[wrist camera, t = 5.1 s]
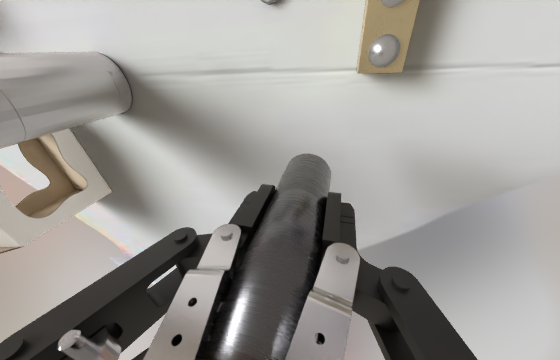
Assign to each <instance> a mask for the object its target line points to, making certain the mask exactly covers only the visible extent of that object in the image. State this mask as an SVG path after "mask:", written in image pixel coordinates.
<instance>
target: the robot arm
mask: <svg viewBox="0 0 560 360" xmlns="http://www.w3.org/2000/svg"><path fill="white" fill-rule="evenodd" d="M131 102H132V96H131V90H130V87H129V84H128V82H127V80H126V78H125V76H124V75H123V73H122V72H121V70H120V69H119V68H118V67H117V65H116V64H115V63H114V62H112V61H111V60H110V59H109V58H107V57H106V56H104V55H102V54H100V53H97V52H53V53H0V149H1V148H4V147H8V146H11V145H15V144H18V143H21V142H24V141H28V140H31V139H35V138H38V137H41V136H45V135H48V134H52V133H55V132H58V131H62V130H65V129H69V128H72V127H76V126H79V125H82V124H86V123H89V122H93V121H96V120H99V119H103V118H107V117H110V116H113V115H117V114H120V113H123V112H126V111H127V110H128V109H129V108H130V106H131ZM274 193H275V186H274V185H265V184H262V185H261V187H260V188H259V190H258V192H256V191H253V192H251V193H250V194H249V195H247V196H246V198H245V199H244V201H243V203H242V204H241V205H240V207H239V208H238V210H237V211H236V213H235V214H234V216H233V217H232V219H231V220H230V222H229V223H228V224H225V225H222V226H220V227H218V228H217V229H216V230H215V231H214V232H213V234H205V235H197V234H196V231H195V230H194V229H192V228H188V227H186V228H181V229H178V230H176V231H174V232H172V233H171V234H169V235H168V236H166V237H165V238H163V239H162V240H160V241H158V242H157V243H155V244H154V245H152V246H151V247H149V248H147V249H146V250H144V251H143V252H141V253H140V254H138V255H136V256H135V257H133V258H132V259H130V260H129V261H127V262H125V263H124V264H122V265H121V266H119V267H118V268H116V269H115V270H113V271H112V272H110V273H108V274H107V275H105V276H104V277H102V278H101V279H99V280H97V281H96V282H94V283H93V284H91V285H90V286H88V287H87V288H85V289H83V290H82V291H80V292H78V293H77V294H75V295H74V296H72V297H71V298H69V299H68V300H66V301H64V302H63V303H61V304H60V305H58V306H57V307H55V308H54V309H52V310H50V311H49V312H47V313H46V314H44V315H42V316H41V317H39V318H38V319H36V320H35V321H33V322H32V323H30V324H28V325H27V326H25V327H24V328H22V329H21V330H19V331H17V332H16V333H14V334H13V335H11V336H10V337H8V338H7V339H5V340H4V341H3V342H2V343H0V360H118V358H119V356H120V353H121V352H123V351H124V350H125V349H126V348H127V347H128V346H129V345H131V344H132V343H133V342H134V341H135V340H136V339H137V338H138V337H140V336H141V335H142V334H143V333H144V332H145V331H146V330H147V329H149V328H150V327H151V326H152V325H153V324H154V323H155V322H156V321H158V320H159V319H160V318H161V317H162V316H163V315H164V314H165V313H166V315H165V317H164V319H163V321H162V323H161V325H160V327H159V329H158V331H157V333H156V335H155V337H154V339H153V341H152V343H151V345H150V347H149V348H147V349H146V350H145V351H143V352H142V353H140V354H139V355H138V356H136V357H135V358H134V359H132V360H201V359H202V356H203V353H204V351H205V348H206V345H207V342H208V339H209V336H210V333H211V329H212V326H213V323H214V320H215V317H216V315H217V313H218V312H217V310H218V308H219V306H220V304H221V303H222V302H223V300H224V297H225V295H226V292H227V290H228V288H229V286H230V283H231V281H232V279H233V277H234V275H235V273H236V271H237V269H238V267H239V265H240V263H241V260H242V258H243V256H244V254H245V252H246V250H247V248H248V246H249V244H250V242H251V240H252V238H253V236H254V234H255V232H256V230H257V228H258V225H259V223H260V221H261V219H262V217H263V215H264V213H265V211H266V209H267V207H268V205H269V203H270V201H271V199H272V197H273V195H274ZM321 250H322V262H321V267H320V270H319V273H318V276H317V279H316V282H315V284H314V287H313V289H312V290H310V292H309V294H308V297H307V300H306V302H305V305H304V308H303V311H302V314H301V316H300V319H299V322H298V325H297V328H296V330H295V333H294V336H293V339H292V341H291V344H290V347H289V350H288V353H287V355H286V358H285V360H344V356H345V351H346V345H347V339H348V333H349V327H350V321H351V316H352V310H353V311H354V312H356V313H358V314H359V315H361V316H363V317H364V318H366V319H367V320H368V322H369V324H370V327H371V329H372V331H373V334H374V336H375V338H376V340H377V342H378V345H379V347H380V349H381V351H382V353H383V356H384V358H385V360H477V358H476V357H475V356H474V354H473V353H472V352H471V350H470V349H469V348H468V346H467V345H466V344H465V342H464V341H463V340H462V338H461V337H460V336H459V334H458V333H457V332H456V330H455V329H454V328H453V326H452V325H451V324H450V322H449V321H448V320H447V318H446V317H445V316H444V314H443V313H442V312H441V310H440V309H439V308H438V306H436V304H435V303H434V301H433V300H432V298H431V297H430V296H429V295H428V293H427V292H426V290H425V289H424V288H423V287H422V285H421V284H420V283H419V281H418V280H417V279H416V278H415V277H414V276H413V275H412V274H411V273H409V272H407V271H406V270H404V269H401V268H398V267H388V268H385V269H384V270H381V269H379V268H377V267H375V266H373V265H371V264H369V263H368V262H366V261H365V260H364V259H363V258H361V256H360V255H359V253H358V251H357V247H356V230H355V213H354V209H353V207H352V206H351V204H349V203H341V193H333V192H328V196H327V205H326V213H325V222H324V230H323V239H322V249H321ZM174 265H176V267H177V268H176V269H175V270H173V271H172V272H171V273H169V274H168V275H167V276H165V277H164V278H163V279H162V280H160V281H159V282H158V283H156V284H155V285H154V286H152V287H151V288H148V286H149V285H150V284H151V283H152V282H153V281H154V280H156V279H157V278H158V277H160V276H161V275H162V274H164V273H165V272H166V271H168V270H169V269H170V268H172V267H173V266H174ZM147 288H148V289H147Z"/></svg>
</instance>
